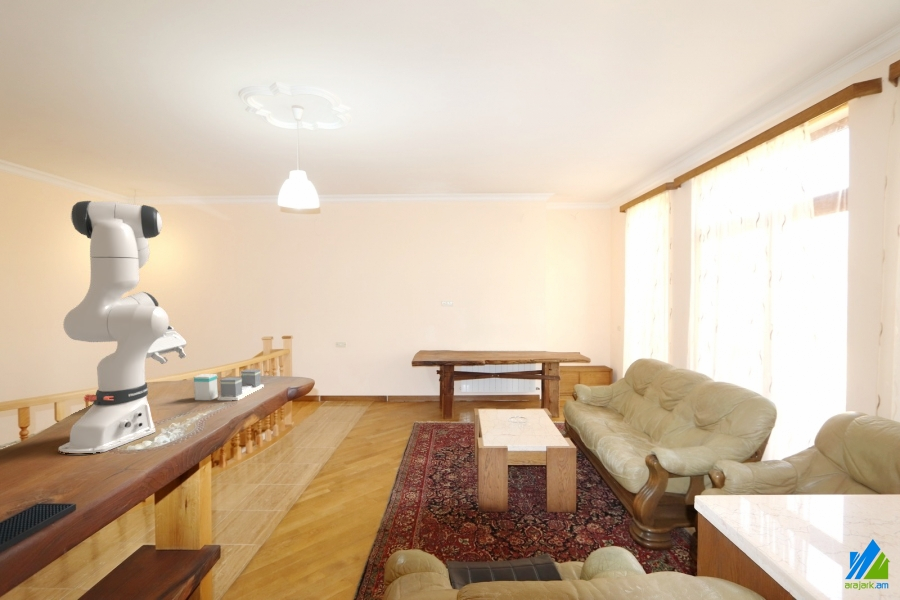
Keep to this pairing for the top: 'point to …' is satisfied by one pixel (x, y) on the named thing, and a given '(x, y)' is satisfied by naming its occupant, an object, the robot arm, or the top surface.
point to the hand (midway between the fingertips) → (174, 359)
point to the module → (205, 386)
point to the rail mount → (240, 385)
